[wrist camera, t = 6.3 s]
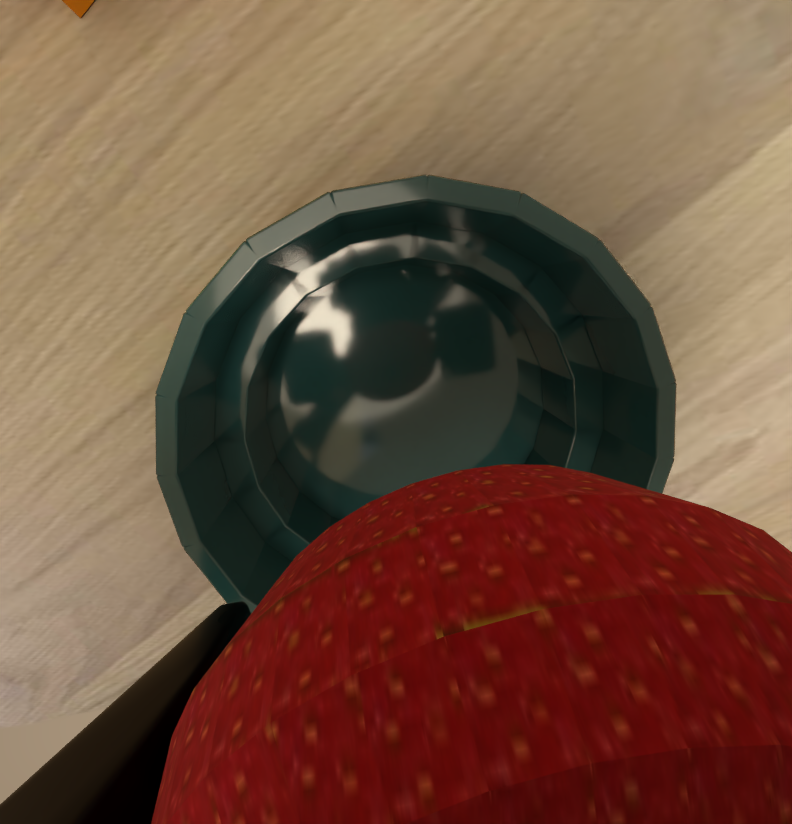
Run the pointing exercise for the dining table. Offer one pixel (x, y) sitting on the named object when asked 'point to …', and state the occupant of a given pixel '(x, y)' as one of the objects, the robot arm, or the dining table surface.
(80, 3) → the orange juice
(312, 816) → the strawberry
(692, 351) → the dining table surface
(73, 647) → the dining table surface
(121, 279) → the dining table surface
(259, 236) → the teal pet bowl
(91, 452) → the dining table surface
